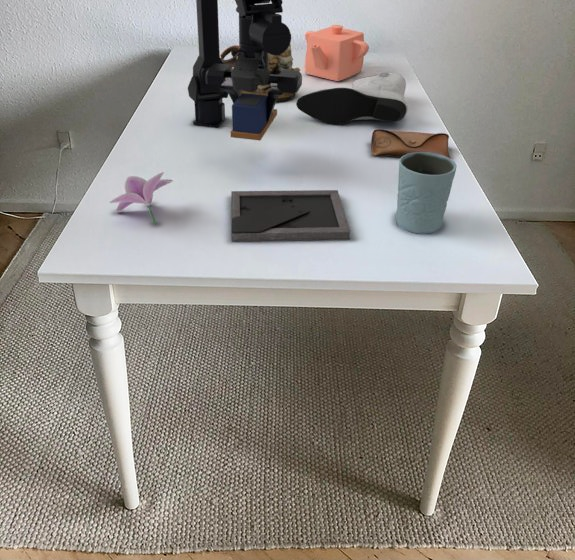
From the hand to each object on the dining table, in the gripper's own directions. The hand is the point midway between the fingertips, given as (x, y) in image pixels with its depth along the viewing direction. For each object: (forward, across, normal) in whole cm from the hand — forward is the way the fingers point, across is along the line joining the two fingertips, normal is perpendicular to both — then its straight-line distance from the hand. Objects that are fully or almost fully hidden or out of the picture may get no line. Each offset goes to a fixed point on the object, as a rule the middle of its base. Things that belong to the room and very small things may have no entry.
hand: (254, 119), depth 129 cm
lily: (+10, -14, -27) cm, 32 cm away
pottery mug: (+10, -22, +64) cm, 69 cm away
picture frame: (+10, +12, -21) cm, 26 cm away
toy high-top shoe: (+1, 0, +1) cm, 2 cm away
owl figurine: (+10, -8, +44) cm, 46 cm away
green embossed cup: (+10, +36, -16) cm, 41 cm away
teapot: (+10, +6, +67) cm, 68 cm away
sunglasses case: (+10, +33, +16) cm, 38 cm away
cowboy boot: (+10, +17, +40) cm, 45 cm away
